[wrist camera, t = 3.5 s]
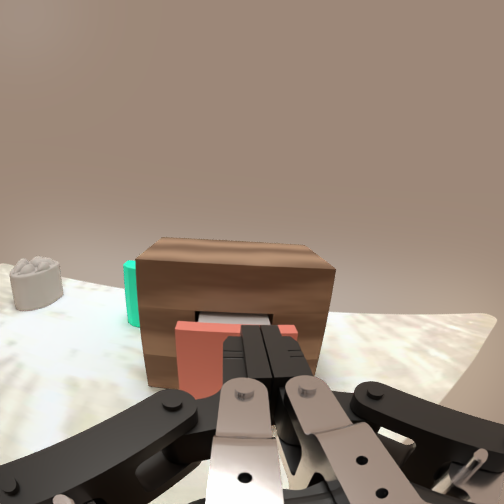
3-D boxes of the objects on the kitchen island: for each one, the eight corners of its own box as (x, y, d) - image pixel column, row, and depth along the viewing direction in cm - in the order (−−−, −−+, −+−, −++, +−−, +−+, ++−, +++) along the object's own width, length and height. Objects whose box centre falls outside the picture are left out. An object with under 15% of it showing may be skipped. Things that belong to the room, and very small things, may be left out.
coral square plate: (285, 401, 23) (298, 333, 22) (180, 399, 22) (174, 329, 20) (270, 350, 32) (277, 291, 31) (190, 347, 31) (189, 287, 30)
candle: (162, 313, 48) (160, 250, 45) (157, 328, 42) (154, 259, 40) (131, 311, 47) (128, 249, 44) (124, 326, 41) (117, 257, 39)
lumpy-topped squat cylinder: (68, 292, 50) (64, 255, 48) (34, 315, 37) (26, 272, 35) (39, 286, 50) (35, 251, 48) (6, 305, 37) (-2, 266, 35)
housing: (310, 389, 30) (336, 269, 27) (148, 385, 28) (135, 259, 25) (290, 342, 42) (304, 245, 38) (165, 337, 40) (162, 237, 36)
